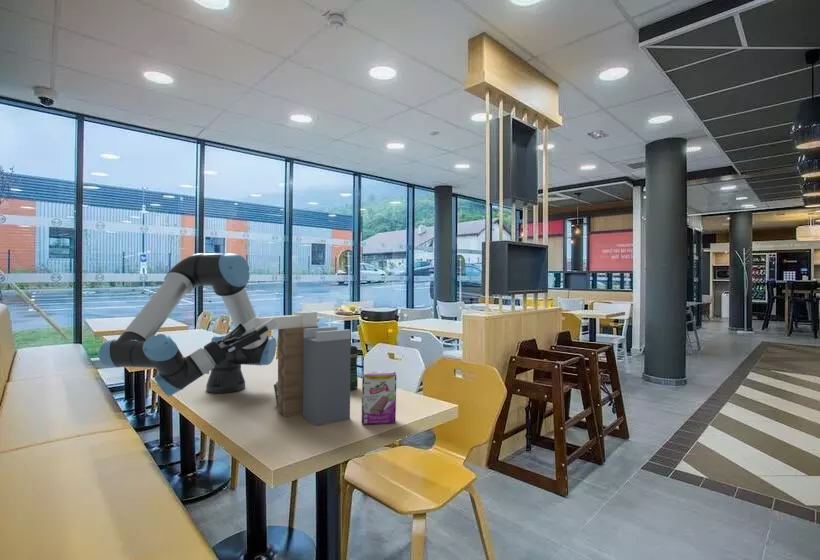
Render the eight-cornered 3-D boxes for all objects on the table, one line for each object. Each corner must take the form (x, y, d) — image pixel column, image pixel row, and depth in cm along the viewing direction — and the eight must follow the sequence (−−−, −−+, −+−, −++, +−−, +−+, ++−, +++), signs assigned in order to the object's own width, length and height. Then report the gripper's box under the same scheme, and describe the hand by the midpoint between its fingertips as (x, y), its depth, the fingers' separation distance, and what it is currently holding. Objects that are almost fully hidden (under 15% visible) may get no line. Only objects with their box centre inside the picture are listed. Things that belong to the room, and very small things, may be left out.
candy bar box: (361, 425, 138) (362, 374, 138) (361, 420, 143) (361, 371, 143) (396, 424, 140) (396, 373, 140) (394, 418, 145) (394, 370, 144)
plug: (253, 329, 143) (253, 314, 143) (311, 324, 159) (311, 310, 159) (261, 331, 139) (261, 315, 139) (320, 325, 155) (320, 311, 155)
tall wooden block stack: (277, 411, 151) (278, 326, 151) (309, 405, 159) (310, 324, 158) (284, 416, 146) (285, 328, 145) (317, 410, 153) (318, 326, 153)
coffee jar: (360, 388, 183) (361, 345, 183) (345, 392, 177) (346, 347, 177) (347, 384, 190) (347, 342, 190) (332, 387, 184) (332, 344, 184)
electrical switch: (280, 408, 155) (279, 382, 156) (272, 406, 159) (271, 381, 159) (302, 402, 163) (300, 377, 163) (293, 401, 166) (292, 376, 166)
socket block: (303, 416, 146) (303, 328, 146) (334, 410, 153) (335, 326, 153) (316, 425, 137) (317, 332, 137) (349, 418, 144) (350, 329, 144)
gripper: (207, 360, 145) (261, 325, 156) (225, 374, 125) (286, 333, 136) (194, 341, 143) (251, 308, 154) (211, 353, 123) (275, 313, 134)
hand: (268, 319), depth 145 cm, fingers open, 13 cm apart
